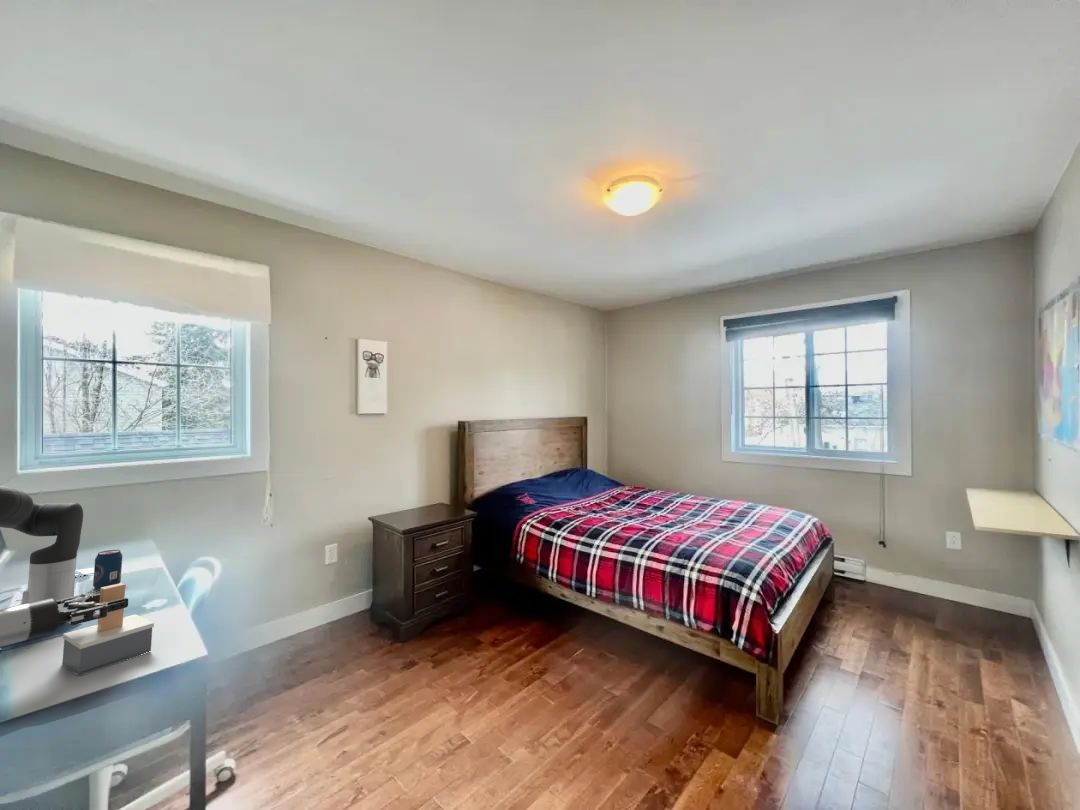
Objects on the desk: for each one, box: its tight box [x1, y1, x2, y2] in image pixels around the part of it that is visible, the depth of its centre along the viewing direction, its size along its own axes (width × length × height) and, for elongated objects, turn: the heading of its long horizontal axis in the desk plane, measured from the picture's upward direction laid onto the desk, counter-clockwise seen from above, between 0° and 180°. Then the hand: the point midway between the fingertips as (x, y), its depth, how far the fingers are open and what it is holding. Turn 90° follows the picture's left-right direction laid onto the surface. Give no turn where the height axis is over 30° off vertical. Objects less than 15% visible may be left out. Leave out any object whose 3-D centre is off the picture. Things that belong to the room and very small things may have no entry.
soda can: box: [92, 549, 123, 591], centre depth 157 cm, size 7×7×12 cm
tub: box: [62, 627, 153, 677], centre depth 109 cm, size 13×10×6 cm
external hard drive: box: [75, 567, 94, 576], centre depth 170 cm, size 2×8×12 cm
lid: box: [62, 582, 155, 649], centre depth 110 cm, size 13×10×12 cm
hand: (120, 598), depth 111 cm, fingers open, 8 cm apart
